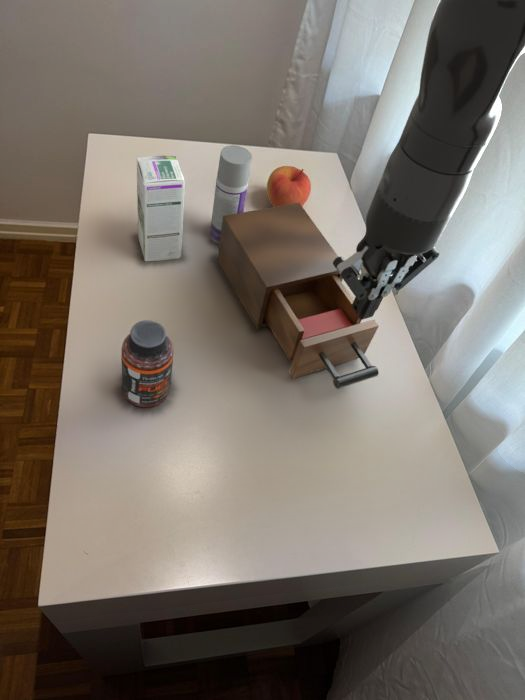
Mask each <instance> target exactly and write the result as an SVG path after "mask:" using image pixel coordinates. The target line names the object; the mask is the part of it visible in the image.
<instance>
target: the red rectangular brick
mask: <svg viewBox="0 0 525 700" xmlns="http://www.w3.org/2000/svg"><path fill="white" fill-rule="evenodd" d="M298 321H299V322H300V324H301V326H302V327H303V329H304V334H303V337H302V339H301V340H303V339H306V338H310V337H313V336H317V335H321V334H324V333H328V332H331V331H335V330H338V329H342V328H346V327H349V326H352V323H351V322H350V321H349V319H348V318H347V316H346V315H345V313H344V312H343V310H342V309H341V308H340V309H336V310H333V311H329V312H325V313H321V314H318V315H314V316H310V317H306V318H303V319H299V320H298Z"/></svg>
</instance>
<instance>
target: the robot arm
mask: <svg viewBox="0 0 525 700" xmlns="http://www.w3.org/2000/svg"><path fill="white" fill-rule="evenodd" d="M524 53H525V0H439V2H438V4H437V6H436V9H435V11H434V13H433V17H432V20H431V24H430V25H429V30H428V34H427V39H426V46H425V51H424V56H423V61H422V67H421V72H420V81H419V90H418V95H417V97H416V99H415V101H414V103H413V105H412V108H411V110H410V112H409V115H408V117H407V120H406V122H405V125H404V127H403V130H402V132H401V135H400V138H398V139H399V140H398V142H397V143H396V145H395V146H394V149H393V150H392V151H391V154H390V156H389V158H388V161H387V162H386V165H385V168H384V170H383V173H382V175H381V177H380V180H379V182H378V185H377V187H376V189H375V193H374V195H373V198H372V200H371V203H370V205H369V208H368V211H367V213H366V217H365V234H364V236H363V238H362V239H361V240H360V241H359V242H358V243H357V245H356V249H355V251H356V252H355V253H354V254H352V255H351V256H349V257H347V258H346V259H344V258H345V257H343V256H338V257H337V258H336V259H335V260H334V261H333V265H334V266H335V268H336V269H337V271H338V272H339V274H340V275H341V277H342V278H343V281H344V283H345V284H346V286H347V287H348V288H349V290H350V291H351V292H352V294H353V295H354V298H353V299H354V301H353V304H352V309H353V310H354V311H355V313H356V314H357V316H358V317H359V318H360V319H361V321H362V320H365V319H370V318H372V317H374V315H375V313H376V312H377V310H378V309H379V307H380V305H381V304H382V301H383V299H384V298H385V297H388V296H389V295H390V294H391V292H392V290H393V289H395V290H396V291H400V290H402V289H403V288H404V287H406V285H408V284H409V283H410V282H411V281H412V280H414V279H415V278H416V277H417V276H418V275H419V274H420V273H422V272H423V271H425V269H426V268H427V267H428V266H430V265H431V264H432V263H433V262H435V261H436V260H437V259H438V258H439V256H440V253H439V251H438V250H437V249H436V246H437V244H438V242H439V240H440V238H441V237H442V235H443V233H444V231H445V229H446V228H447V226H448V224H449V223H450V220H451V219H452V216H453V214H454V213H455V211H456V209H457V207H458V206H459V203H460V202H461V200H462V199H463V197H464V194H465V192H466V190H467V188H468V186H469V183H470V181H471V178H472V175H473V172H474V171H475V168H476V166H477V165H478V162H479V161H480V159H481V157H482V155H483V153H484V151H485V149H486V148H487V147H488V144H489V142H490V141H491V138H492V136H493V135H494V132H495V130H496V129H497V126H498V123H499V120H500V118H501V115H502V109H503V108H502V107H503V106H502V101H501V98H500V94H501V91H502V89H503V87H504V85H505V82H506V80H507V78H508V76H509V74H510V72H511V71H512V69H513V67H514V66H515V64H516V62H517V60H518V59H519V58H520V56H521V55H523V54H524ZM360 272H361V273H360Z"/></svg>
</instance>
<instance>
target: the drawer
mask: <svg viewBox="0 0 525 700" xmlns="http://www.w3.org/2000/svg"><path fill="white" fill-rule="evenodd" d="M354 299H355V298H354V297H353V296H352V295H351V294H350V292H349V290H348V289H347V288H346V287H345V285H344V284H343V281H342V282H341V281H340V279H339V278H338V277H337V275H332V276H328V277H323V278H319V279H315V280H311V281H307V282H302V283H298V284H294V285H290V286H285V287H281V288H277V289H273V290H271V291H270V295H269V299H268V303H267V307H266V311H265V315H264V318H265V320H266V322H267V324H268V325H269V326H268V327H269V329H270V331H271V332H272V334H273V336H274V337H275V339H276V341H277V342H278V344H279V346H280V348H281V350H282V351H283V353H284V354H285V356H286V358H287V359H288V361H289V362H291V364H290V367H289V370H288V373H289V375H290V376H291V378H292V379H295V378H299V377H302V376H306V375H308V374H309V375H310V374H313V373H315V372H318V371H322V370H325V369H327V371H328V372H329V374H330V375H331V377H332V383H333V386H334V387H335V389H343V388H345V387H348V386H350V385H354V384H357V383H360V382H363V381H366V380H369V379H372V378H376V377H378V376H379V368H378V367H377V366H375V365H372V364H371V362H370V361H369V359H368V358H367V356H366V355H365V354H366V352H367V350H368V348H369V346H370V344H371V343H372V340H373V338H374V337H375V335H376V333H377V330H378V329H379V324H378V323H377V321H376V319H371V320H367V321H364V322H362V320H361V319H360V318H359V317H358V316H357V314H356V313H355V311H354V310H353V309H352V304H353V301H354ZM340 308H341V309H342V310H343V312H344V313H345V315H346V316H347V318H348V319H349V321H350V322H351V323H352V326H349V327H346V328H342V329H338V330H335V331H331V332H328V333H324V334H321V335H317V336H313V337H310V338H306V339H303V340H301V339H302V337H303V334H304V329H303V327H302V326H301V324H300V322H299V321H298V320H299V319H303V318H306V317H310V316H314V315H318V314H321V313H325V312H329V311H333V310H336V309H340ZM357 359H359V360H360V362H361V363H362V365H363V366H364V368H362V369H359V370H356V371H352V372H349V373H346V374H343V375H339V373H338V372H337V370H336V369H335V366H338V365H341V364H345V363H348V362H351V361H353V360H357Z"/></svg>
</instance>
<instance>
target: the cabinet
mask: <svg viewBox="0 0 525 700" xmlns="http://www.w3.org/2000/svg"><path fill="white" fill-rule="evenodd" d="M337 257H339V255H338V254H337V253H336V251H335V250H334V248H333V247H332V246H331V244H330V242H328V240H327V239H326V238H325V236H324V235H323V234H322V232H321V230H320V229H319V228H318V227H317V225H316V224H315V222H314V221H313V220H312V218H311V217H310V216H309V214H308V212H307V211H306V210H305V208H304V207H303V206H301V204H300V203H294V204H288V205H282V206H276V207H274V206H272V207H266V208H261V209H260V208H259V209H255V210H248V211H243V212H242V213H236V214H231V215H225V216H223V221H222V228H221V235H220V242H219V244H218V250H217V257H216V260H217V262H218V264H219V265H220V267H221V269H222V271H223V272H224V275H225V276H226V278H227V280H228V281H229V283H230V285H231V286H232V289H233V291H234V292H235V294H236V295H237V297H238V299H239V301H240V302H241V304H242V306H243V308H244V309H245V311H246V313H247V315H248V316H249V318H250V320H251V322H252V323H253V325H254V327H255V329H256V330H258V329H261V328H265V327H269V325H268V324H267V322H266V320H265V318H264V315H265V311H266V307H267V303H268V299H269V295H270V291H271V290H273V289H277V288H281V287H285V286H290V285H294V284H298V283H302V282H307V281H311V280H315V279H319V278H323V277H328V276H332V275H337V277H338V278H339V279H340V281H341V282H342V283H343V281H344V279H343V278H342V277H341V275H340V274H339V272H338V271H337V269H336V268H335V266H334V265H333V261H334V260H335V259H336V258H337Z"/></svg>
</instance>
